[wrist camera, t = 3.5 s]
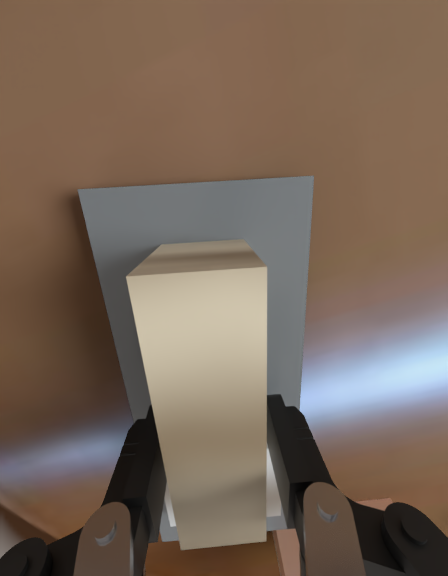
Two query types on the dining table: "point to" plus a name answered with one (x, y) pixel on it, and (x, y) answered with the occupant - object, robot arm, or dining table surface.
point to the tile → (290, 545)
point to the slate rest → (201, 228)
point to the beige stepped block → (208, 386)
